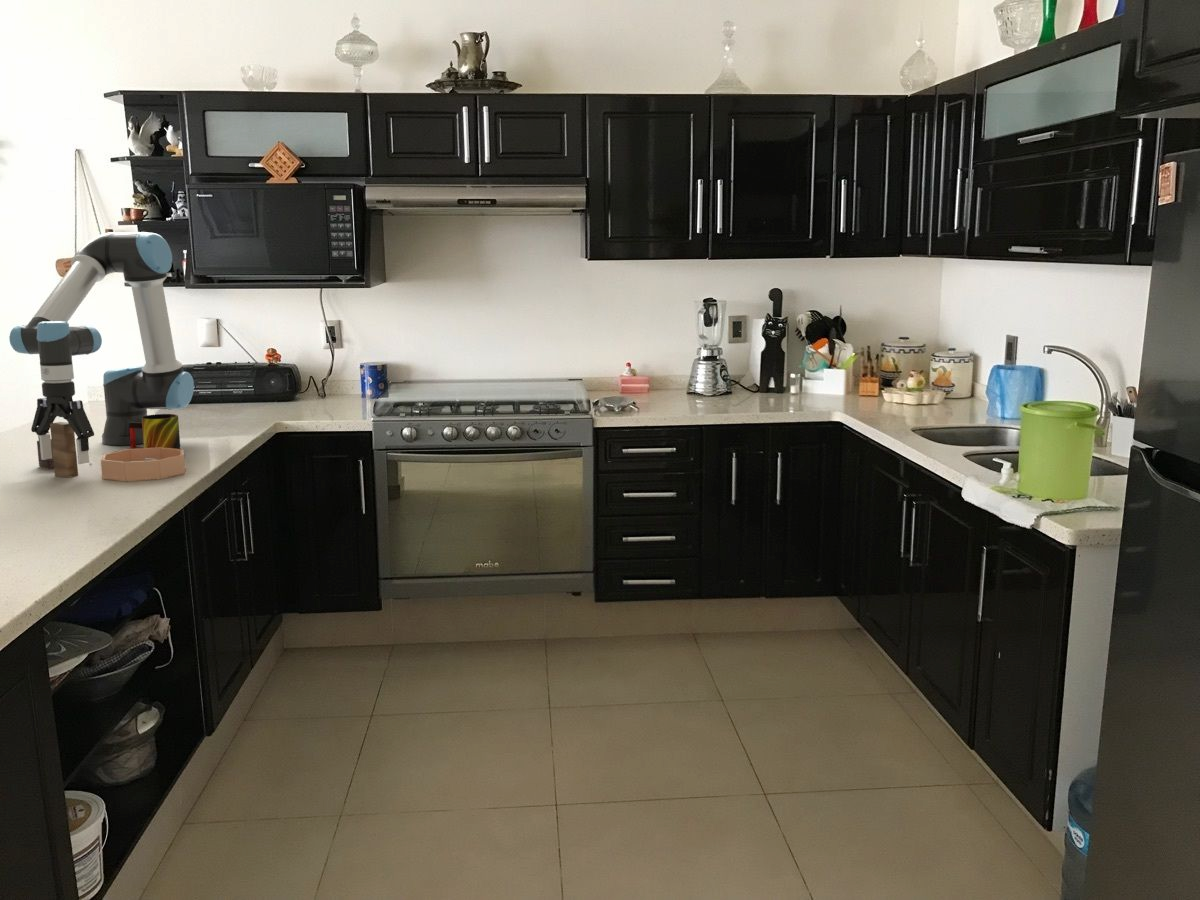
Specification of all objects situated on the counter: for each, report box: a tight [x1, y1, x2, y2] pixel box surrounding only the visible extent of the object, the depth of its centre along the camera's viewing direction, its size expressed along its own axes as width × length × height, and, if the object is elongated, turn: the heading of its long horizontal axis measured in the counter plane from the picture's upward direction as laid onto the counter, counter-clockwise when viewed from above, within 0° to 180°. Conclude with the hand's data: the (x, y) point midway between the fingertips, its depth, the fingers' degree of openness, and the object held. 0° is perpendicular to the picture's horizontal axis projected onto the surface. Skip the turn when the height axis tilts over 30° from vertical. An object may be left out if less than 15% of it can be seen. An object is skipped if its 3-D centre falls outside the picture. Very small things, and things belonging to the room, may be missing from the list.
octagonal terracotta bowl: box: [100, 447, 186, 482], centre depth 272 cm, size 20×20×5 cm
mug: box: [129, 413, 181, 449], centre depth 293 cm, size 10×14×12 cm
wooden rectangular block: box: [49, 421, 79, 478], centre depth 268 cm, size 3×5×14 cm, turn 67°
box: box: [36, 440, 54, 470], centre depth 280 cm, size 6×6×7 cm
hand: (65, 461), depth 268 cm, fingers open, 13 cm apart
